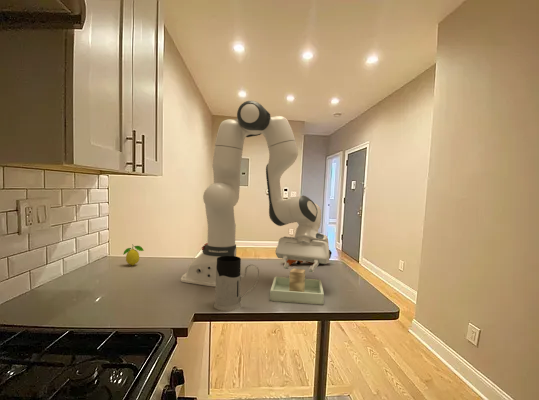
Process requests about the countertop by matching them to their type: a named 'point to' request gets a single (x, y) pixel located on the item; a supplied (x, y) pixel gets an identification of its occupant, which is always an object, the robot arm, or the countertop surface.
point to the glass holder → (229, 283)
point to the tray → (309, 296)
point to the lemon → (132, 255)
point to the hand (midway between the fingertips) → (298, 269)
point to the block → (297, 280)
